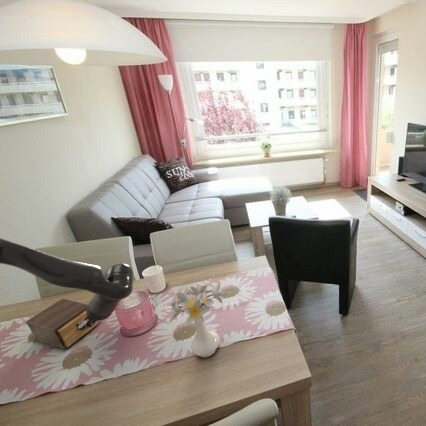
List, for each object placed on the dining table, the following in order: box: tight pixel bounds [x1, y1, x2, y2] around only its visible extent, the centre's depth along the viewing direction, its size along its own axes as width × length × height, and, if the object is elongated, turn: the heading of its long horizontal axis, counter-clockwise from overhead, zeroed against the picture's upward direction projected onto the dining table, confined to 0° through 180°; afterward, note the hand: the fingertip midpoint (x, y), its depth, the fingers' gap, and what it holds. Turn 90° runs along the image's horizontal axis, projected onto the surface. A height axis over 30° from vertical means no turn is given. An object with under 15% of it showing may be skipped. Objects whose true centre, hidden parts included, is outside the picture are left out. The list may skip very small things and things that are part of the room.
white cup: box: [141, 265, 167, 294], centre depth 132 cm, size 8×8×10 cm
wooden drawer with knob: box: [57, 310, 99, 348], centre depth 110 cm, size 15×11×8 cm
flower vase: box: [168, 281, 226, 358], centre depth 98 cm, size 13×18×25 cm
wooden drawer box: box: [25, 298, 99, 350], centre depth 110 cm, size 15×13×10 cm
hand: (89, 324), depth 105 cm, fingers closed
